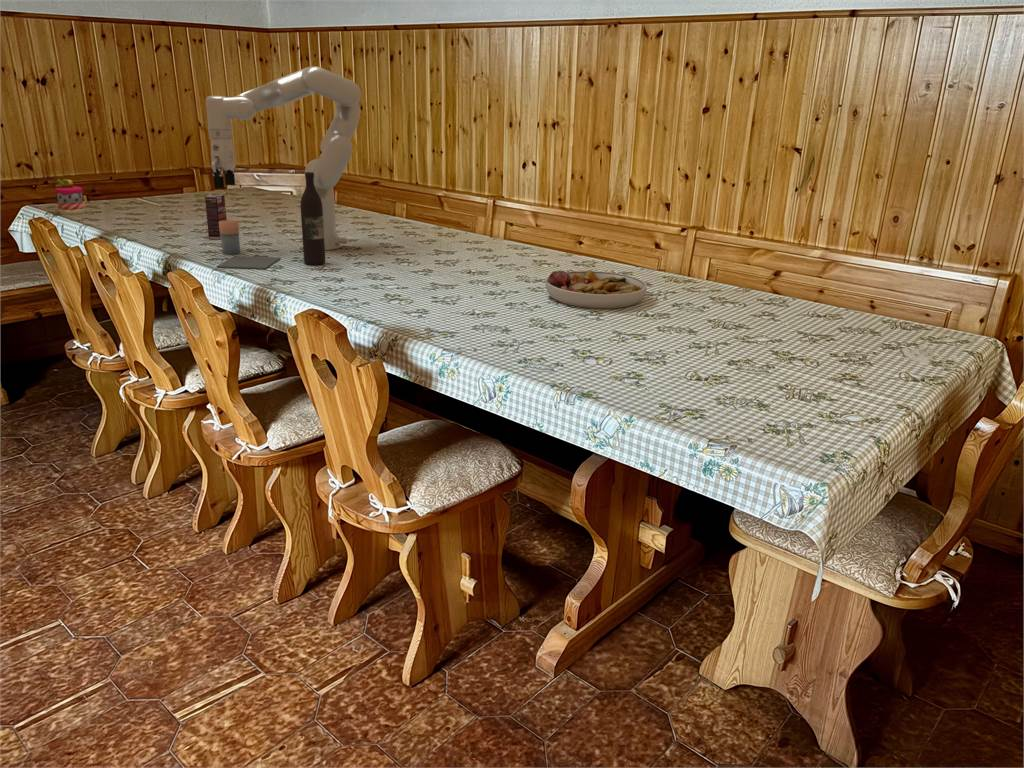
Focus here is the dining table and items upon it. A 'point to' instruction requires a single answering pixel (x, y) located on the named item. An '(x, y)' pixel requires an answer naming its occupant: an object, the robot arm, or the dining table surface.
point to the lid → (229, 227)
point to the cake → (69, 198)
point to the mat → (249, 262)
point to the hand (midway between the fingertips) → (224, 186)
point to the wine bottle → (312, 224)
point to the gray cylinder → (230, 244)
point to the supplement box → (215, 214)
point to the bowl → (595, 289)
